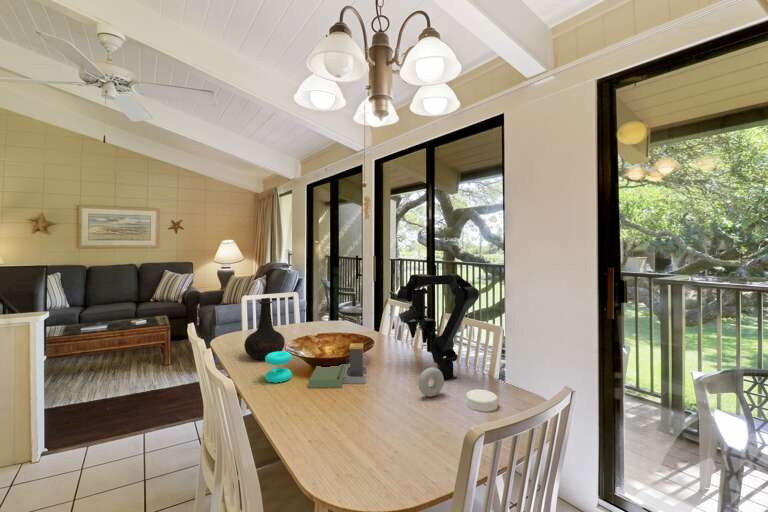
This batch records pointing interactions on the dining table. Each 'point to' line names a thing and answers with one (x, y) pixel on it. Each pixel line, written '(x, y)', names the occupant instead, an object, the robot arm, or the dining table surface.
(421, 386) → the donut
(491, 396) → the white round disc
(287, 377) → the donuts
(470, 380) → the dining table surface
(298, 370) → the dining table surface
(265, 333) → the dark bulbous vase
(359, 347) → the grey tan rectangular block
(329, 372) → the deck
